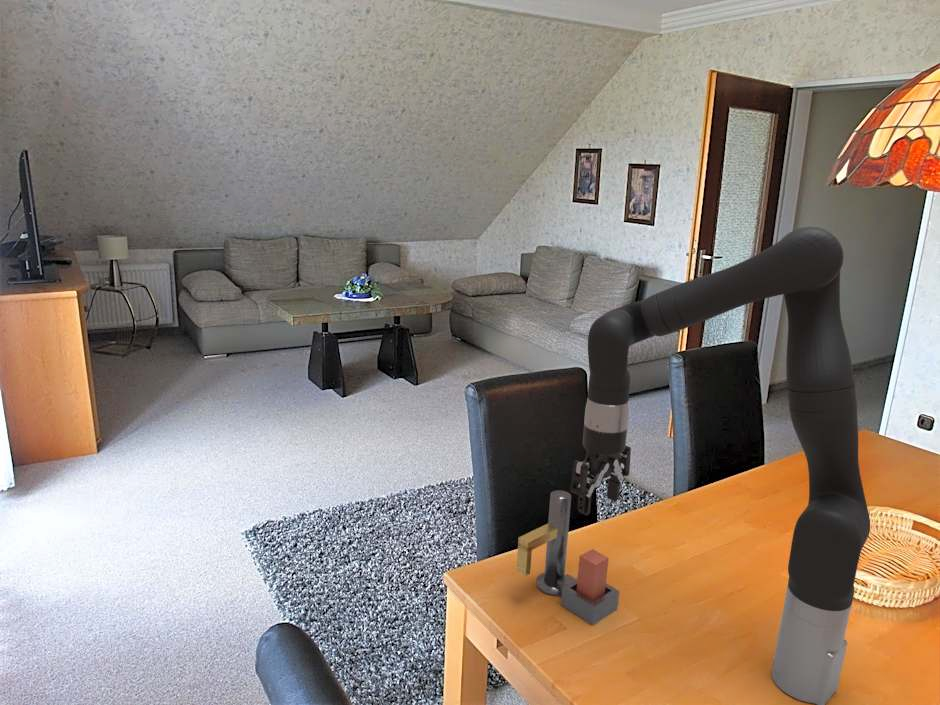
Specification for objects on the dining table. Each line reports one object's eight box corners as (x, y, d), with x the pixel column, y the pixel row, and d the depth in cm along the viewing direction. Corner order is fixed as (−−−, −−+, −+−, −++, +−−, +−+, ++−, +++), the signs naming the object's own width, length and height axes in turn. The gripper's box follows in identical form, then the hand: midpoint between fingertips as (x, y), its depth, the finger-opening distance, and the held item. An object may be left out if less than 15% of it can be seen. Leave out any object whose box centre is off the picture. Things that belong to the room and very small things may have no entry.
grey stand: (617, 609, 129) (627, 515, 124) (570, 640, 120) (579, 540, 115) (552, 570, 140) (559, 483, 135) (506, 596, 131) (511, 503, 126)
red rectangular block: (603, 608, 129) (608, 557, 126) (590, 616, 127) (595, 564, 124) (587, 598, 132) (592, 548, 129) (575, 606, 129) (579, 555, 126)
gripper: (598, 439, 112) (590, 526, 116) (646, 420, 121) (638, 502, 125) (563, 426, 117) (557, 510, 121) (612, 408, 126) (605, 487, 131)
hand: (598, 506), depth 123 cm, fingers open, 8 cm apart
